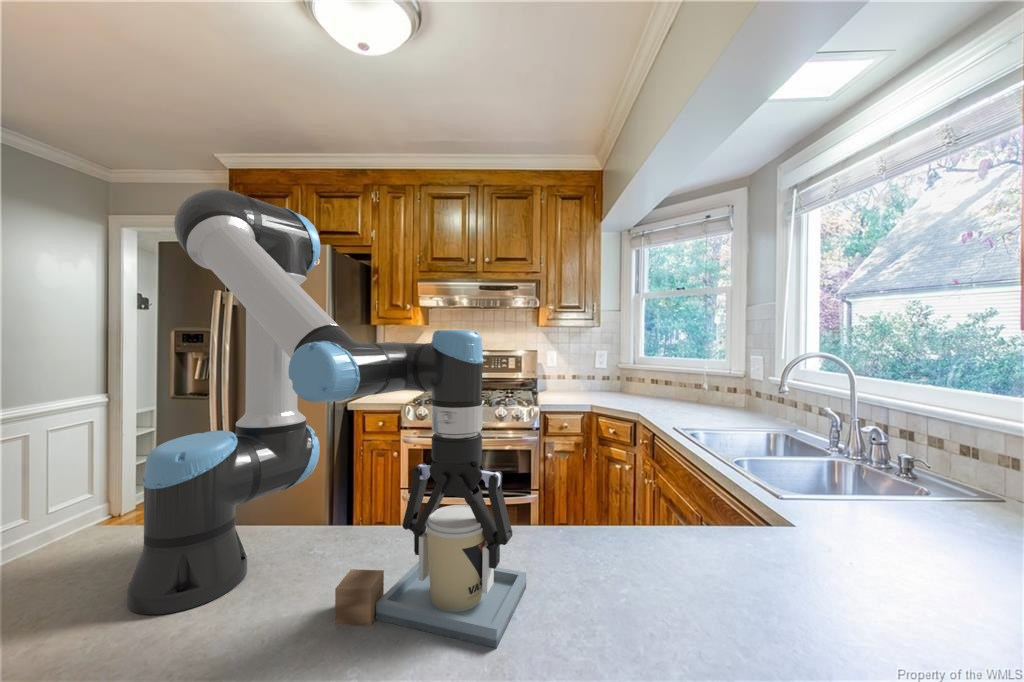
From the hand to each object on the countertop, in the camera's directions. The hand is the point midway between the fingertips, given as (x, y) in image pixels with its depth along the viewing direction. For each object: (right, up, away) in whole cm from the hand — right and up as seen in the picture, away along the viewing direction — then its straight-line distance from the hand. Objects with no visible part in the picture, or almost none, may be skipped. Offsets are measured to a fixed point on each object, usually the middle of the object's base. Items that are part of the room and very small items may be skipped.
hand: (455, 581), depth 63 cm
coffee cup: (0, -2, 0) cm, 2 cm away
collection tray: (0, -3, 0) cm, 3 cm away
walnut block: (-13, -3, -3) cm, 14 cm away
